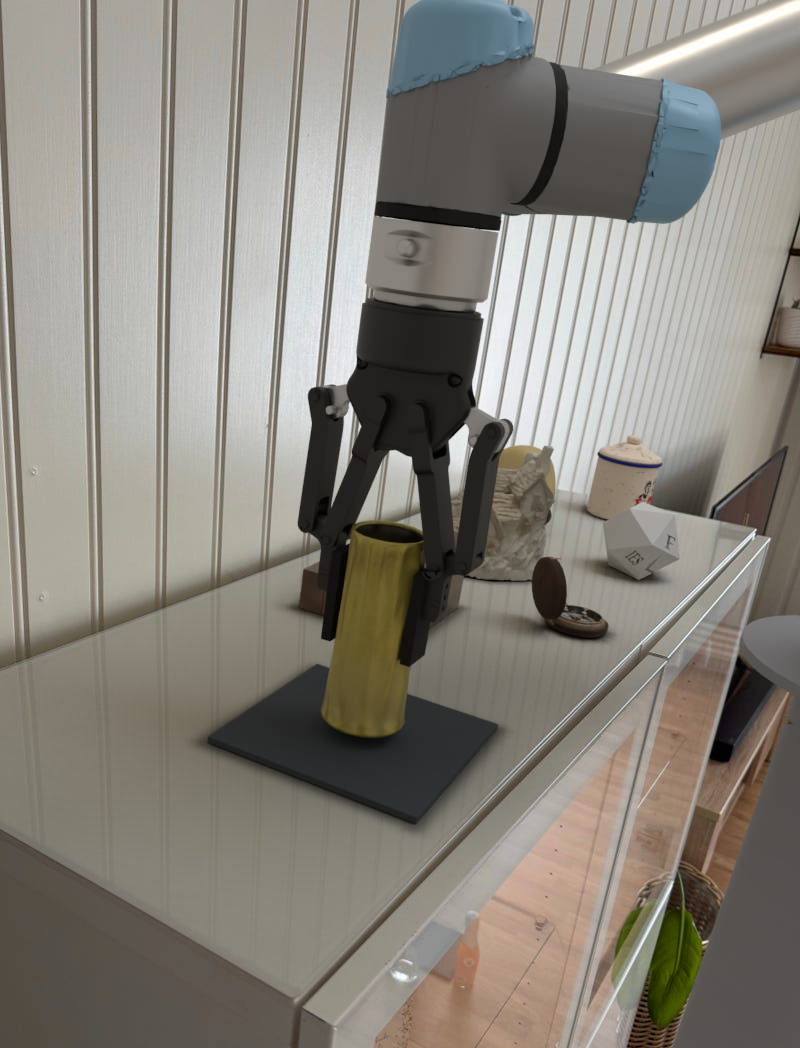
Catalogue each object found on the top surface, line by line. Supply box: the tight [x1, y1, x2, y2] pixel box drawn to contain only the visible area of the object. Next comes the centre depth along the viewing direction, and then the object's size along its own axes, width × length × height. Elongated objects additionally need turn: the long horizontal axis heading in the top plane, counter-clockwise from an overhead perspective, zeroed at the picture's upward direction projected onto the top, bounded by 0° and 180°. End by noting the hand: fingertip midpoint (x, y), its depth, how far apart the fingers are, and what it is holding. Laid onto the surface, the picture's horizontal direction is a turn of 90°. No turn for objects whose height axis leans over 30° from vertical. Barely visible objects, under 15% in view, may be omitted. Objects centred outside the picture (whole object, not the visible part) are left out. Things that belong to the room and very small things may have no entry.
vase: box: [321, 519, 425, 738], centre depth 67 cm, size 6×6×14 cm
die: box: [602, 502, 681, 581], centre depth 115 cm, size 8×9×10 cm
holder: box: [298, 561, 465, 630], centre depth 95 cm, size 12×12×4 cm
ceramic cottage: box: [451, 445, 556, 582], centre depth 111 cm, size 16×16×15 cm
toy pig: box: [498, 444, 556, 527], centre depth 129 cm, size 10×12×11 cm
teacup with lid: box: [586, 434, 663, 521], centre depth 140 cm, size 12×9×12 cm
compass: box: [531, 556, 609, 639], centre depth 96 cm, size 8×8×7 cm
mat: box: [206, 663, 499, 825], centre depth 71 cm, size 16×16×1 cm
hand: (372, 646), depth 68 cm, fingers closed on vase, 5 cm apart
